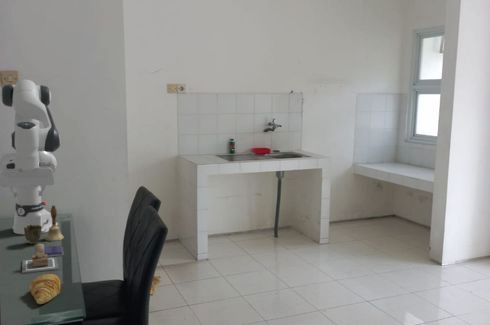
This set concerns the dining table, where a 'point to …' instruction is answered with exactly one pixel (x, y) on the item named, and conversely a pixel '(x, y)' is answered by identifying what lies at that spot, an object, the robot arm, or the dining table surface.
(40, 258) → the stamp
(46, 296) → the croissant
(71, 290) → the dining table surface
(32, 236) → the cup
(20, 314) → the dining table surface
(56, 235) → the hand bell
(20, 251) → the dining table surface
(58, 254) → the ink pad
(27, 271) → the board
